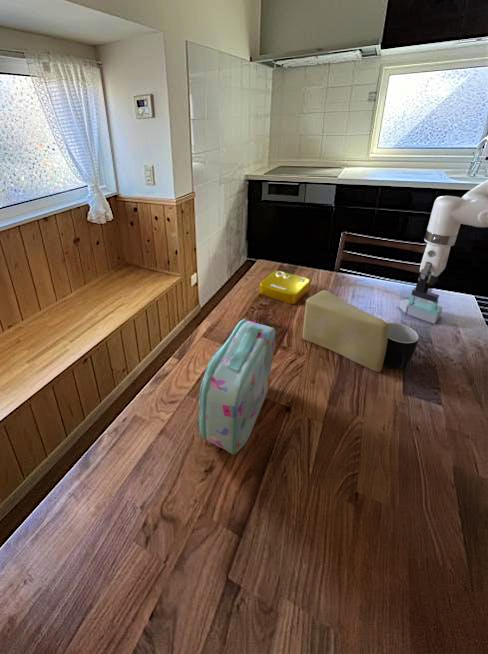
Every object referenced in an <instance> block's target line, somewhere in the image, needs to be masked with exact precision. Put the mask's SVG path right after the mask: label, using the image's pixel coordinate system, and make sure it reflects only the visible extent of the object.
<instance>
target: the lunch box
mask: <svg viewBox="0 0 488 654" xmlns="http://www.w3.org/2000/svg"><path fill="white" fill-rule="evenodd" d="M275 344H276V329H275V328H274V327H271V326H268V325H266V324H261V323H257V322H254V321H252V320H248V319H246V318H243V319H241V320H240V321H239V322H238V323H237V324H236V326H235V327H234V329H233V330H232V332H231V333H230V335H229V337H228V338H227V339H226V341H225V342H224V343H223V345H222V346H221V347H220V348H219V349H218V350H217V351H216V352H215V353H214V355H213V356H212V357H211V359H210V360H209V362H208V364H207V366H206V369H205V372H204V375H203V379H202V381H201V383H200V388H199V416H198V417H199V418H198V430H199V434H200V437H201V438H202V439H203V440H204V441H206V442H209V443H210V444H213V445H214V446H216V447H218V448H221V449H222V450H225V451H226V452H228V453H229V454H231V455H237V454H238V453H239V452H240V451H241V449H242V448H243V447H244V446H245V445H246V444H247V442H248V440H249V438H250V436H251V434H252V431H253V429H254V427H255V424H256V421H257V419H258V416H259V414H260V412H261V409H262V407H263V404H264V402H265V399H266V397H267V394H268V389H269V385H270V382H271V381H270V380H271V373H272V364H273V359H274V351H275Z"/></svg>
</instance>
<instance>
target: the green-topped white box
mask: <svg viewBox="0 0 488 654" xmlns="http://www.w3.org/2000/svg"><path fill="white" fill-rule="evenodd" d="M415 289H416V287H414V288H412V291H411V293H410V294H409V299H400V302H399V308H400V310H401V311H402V312H403V313H404V314H407V315H409V316H411V317H414V318H416V319H417V318H418V319H420V320H422V321H426V322H427V323H428V322H429V323H430V324H431V323H432V324H436V323H437V321H438V320H439V318H440V317H441V314H442V311H443V306H441V305H438V304H439V297H440V294H436V293H434V292H431V291H428V292H427V294H424V293H421V292H418V291H416V290H415ZM416 297H417V298H420V299H416ZM425 300H426V301H425Z"/></svg>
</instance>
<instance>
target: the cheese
mask: <svg viewBox="0 0 488 654" xmlns="http://www.w3.org/2000/svg"><path fill="white" fill-rule="evenodd" d="M304 307H305V308H304V318H303V329H302V340H304V341H306V342H309V343H312V344H314V345H317V346H318V347H321V348H324V349H326V350H329V351H331V352H334V353H336V354H338V355H340V356H342V357H344V358H346V359H347V360H350V361H351V362H354V363H356V364H358V365H360V366H362V367H364V368H366V369H368V370H371V371H373V372H375V373H380V372H381V371H382V370H383V366H384V365H383V362H384V358H385V353H386V348H387V340H388V328H389V327H388V324H387V323H388V322H387V321H385V320H383V319H381V318H380V317H377V316H375V315H372V314H370V313H369V312H367V311H365V310H363V309H360V308H358V307H356V306H354V305H352V304H350V303H349V302H346V301H345V300H344V299H342V298H340V297H338V296H337V295H335V294H333V293H332V292H330V291H328V290H326V289H324V290H323V289H322V290H321V291H318V292H317V293H315V294H314V295H311V296H310V297H308V298H307V299H306V300H305V306H304Z"/></svg>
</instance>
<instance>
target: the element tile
mask: <svg viewBox="0 0 488 654" xmlns="http://www.w3.org/2000/svg"><path fill="white" fill-rule="evenodd" d="M309 290H310V279H309V278H307V277H303V276H300V275H297V274H293V273H288V272H285V271H282V270H274V271H272V272H271V273H270V274H269V275H268V276H266V277H265V278H264V279H263V280H261V281H260V282H259V294H260V295H262V296H264V297H268V298H271V299H274V300H277V301H280V302H283V303H286V304H289V305H295V304H296V303H298V302H299V301H300V300H301V299H302V298H303V297H304V296H305V294H306V293H307V292H308V291H309Z"/></svg>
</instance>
